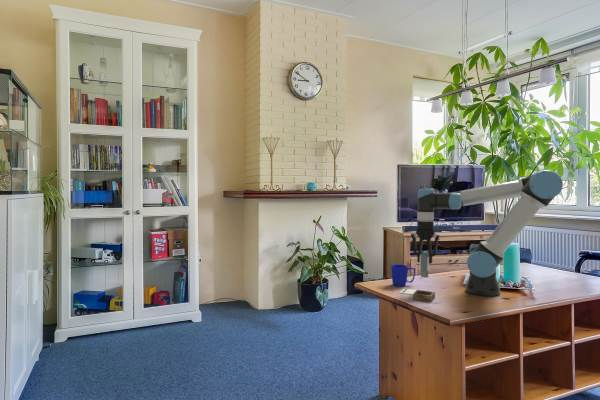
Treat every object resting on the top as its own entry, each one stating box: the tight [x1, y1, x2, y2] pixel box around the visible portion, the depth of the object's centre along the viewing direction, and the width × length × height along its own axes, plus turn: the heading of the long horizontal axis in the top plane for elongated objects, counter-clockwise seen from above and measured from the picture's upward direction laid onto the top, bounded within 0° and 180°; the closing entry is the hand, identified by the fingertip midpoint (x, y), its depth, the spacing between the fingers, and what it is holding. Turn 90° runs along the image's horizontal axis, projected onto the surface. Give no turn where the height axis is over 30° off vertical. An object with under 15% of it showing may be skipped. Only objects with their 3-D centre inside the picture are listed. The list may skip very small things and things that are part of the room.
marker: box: [420, 250, 429, 278], centre depth 190 cm, size 3×3×12 cm
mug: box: [390, 264, 416, 287], centre depth 204 cm, size 8×12×10 cm
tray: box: [412, 289, 436, 303], centre depth 179 cm, size 8×8×3 cm
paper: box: [398, 288, 418, 296], centre depth 189 cm, size 14×9×1 cm, turn 61°
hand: (424, 269), depth 190 cm, fingers closed on marker, 3 cm apart
